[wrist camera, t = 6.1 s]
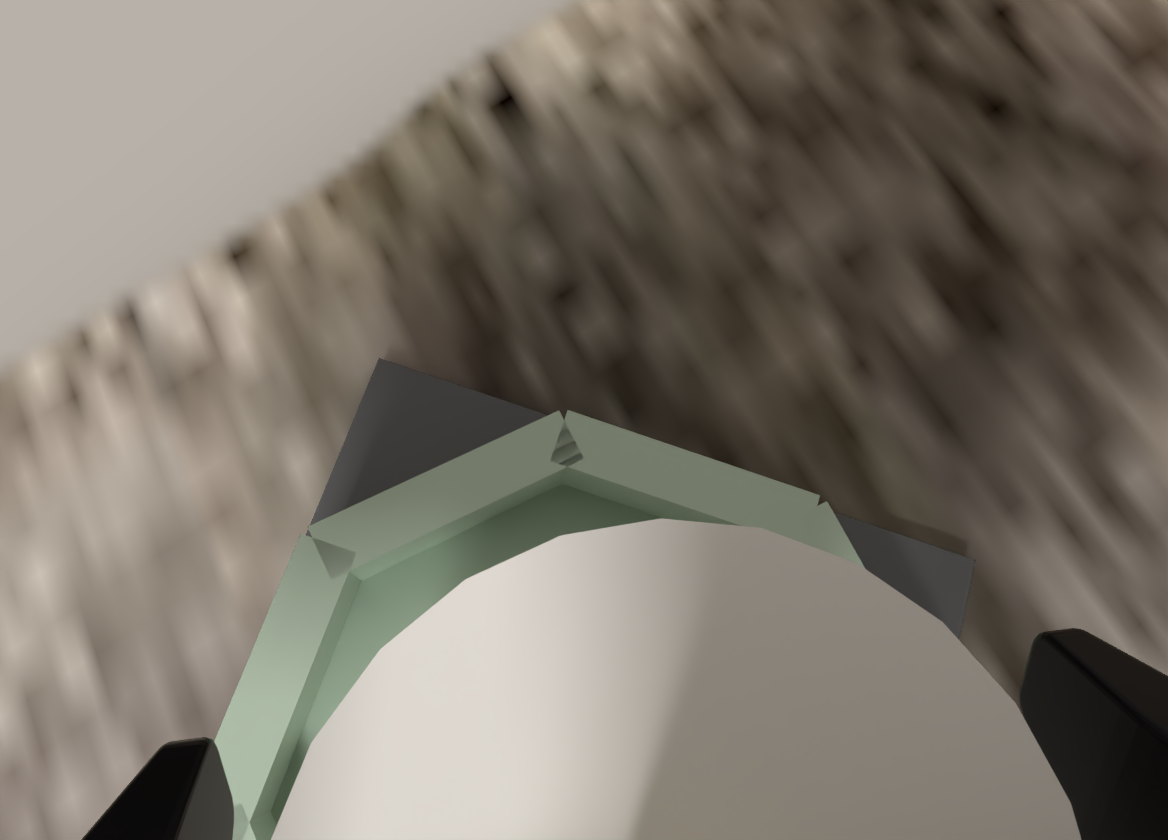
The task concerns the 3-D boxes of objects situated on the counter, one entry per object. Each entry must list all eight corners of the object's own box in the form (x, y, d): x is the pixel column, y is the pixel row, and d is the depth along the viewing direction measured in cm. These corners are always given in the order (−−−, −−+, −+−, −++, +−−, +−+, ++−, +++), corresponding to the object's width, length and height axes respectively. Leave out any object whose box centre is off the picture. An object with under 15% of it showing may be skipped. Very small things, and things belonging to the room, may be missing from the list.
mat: (817, 1279, 17) (825, 1293, 16) (104, 1034, 17) (95, 1043, 16) (966, 562, 20) (975, 560, 20) (381, 364, 20) (379, 358, 20)
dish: (804, 1248, 16) (856, 1345, 14) (136, 1020, 16) (74, 1077, 14) (947, 575, 20) (1010, 559, 17) (393, 387, 20) (379, 345, 17)
